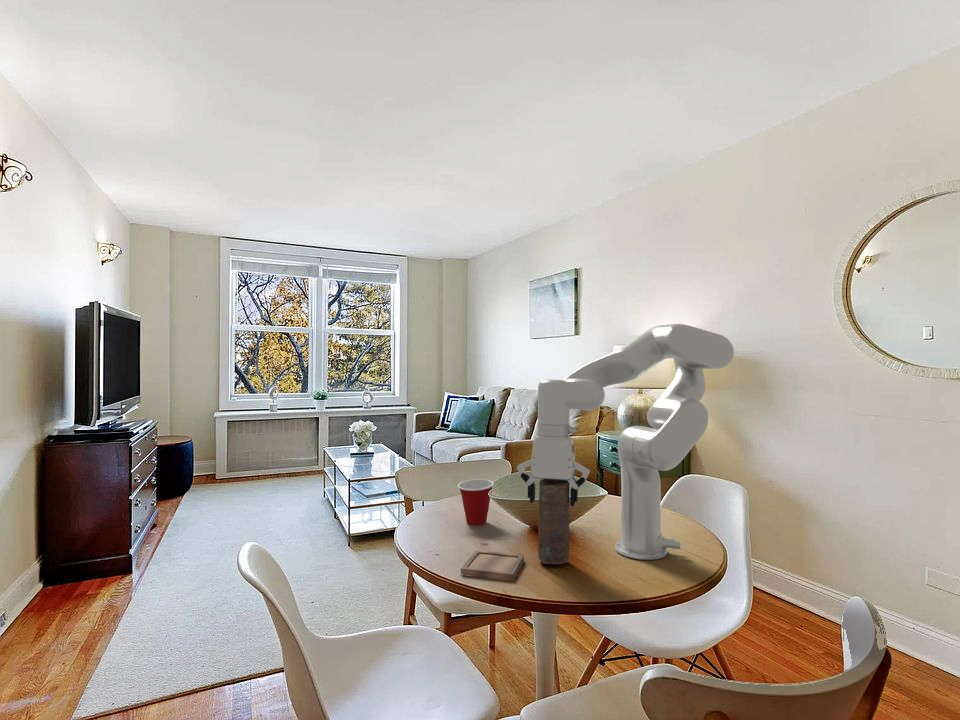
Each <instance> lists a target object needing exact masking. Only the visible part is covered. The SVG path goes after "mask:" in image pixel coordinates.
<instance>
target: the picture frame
mask: <svg viewBox="0 0 960 720" xmlns="http://www.w3.org/2000/svg"><path fill="white" fill-rule="evenodd" d="M524 562H525V555H524V554H514V553H508V552H507V553H504V552H495V551H485V550H477V549H476V550H475V551H474V552H473V553H472V554H471V556H470V557H469V558H468V559H467V561H466V562H465V563H464V564H463V565H462V566H461V568H460V575H461V574H463V575H462V576H464V575H470V576H469V577H473V576H477V577H476V578H481V577H484V578H483V579H490V578H491V579H493V580H499V581H509V582H513V581H514V580H515V578H516V577H517V575H518V572H520V570H519V569H521V567H523V564H524Z"/></svg>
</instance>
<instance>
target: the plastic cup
mask: <svg viewBox="0 0 960 720" xmlns="http://www.w3.org/2000/svg"><path fill="white" fill-rule="evenodd" d="M494 485H495V482H494V481H492V480H490V479H485V478H476V479H468V480H462V481H461V482H459V483H458V484H457V487H458V489H459V491H460V494H461V497H462V498H461V500H462V504H463V512H464V513H465V514H464V515H465V516H464V517H465V521H466V524H468V525H469V526H476V527H478V526H484V525H485V524H486V523H487V520H488V514H489V508H490V502H491V501H490V500H491V496H490V497H489V495H488V492H489V491H490V490H491V489H492V490H493V487H494ZM492 490H491V491H492Z"/></svg>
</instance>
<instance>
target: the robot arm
mask: <svg viewBox="0 0 960 720" xmlns="http://www.w3.org/2000/svg"><path fill="white" fill-rule="evenodd" d="M734 349H735V348H734V346H733V344H732V342H731V340H730V339H729V338H727V337H726V336H724V335H722V334H719V333H716V332H712V331H709V330H706V329H702V328H698V327H696V326H691V325H688V324H683V323H671V324H661V325H656V326H653V327H651V328H649V329H647V330H645V331H644V332H643V333H641V334H639V335H638V336H636V337H635V338H633V339H632V340H630V341H629V342H627V343H626V344H625V345H623V346H622V347H619V348H618V349H616V350H614V351H613V352H610V353H609V354H606V355H604V356H602V357H600V358H598V359H595V360H594V361H591V362H589V363H587V364H585V365H583V366H581V367H580V368H577V369H576V370H575V371H574V372H572V373H570V374H569V375H567V376H566V377H565V378H563V379H542V380H540V381H539V382H538V385H537V434H536V435H534V438H533V442H532V443H533V444H532V451H531V459H529V460H526V461H524V462H522V463H520V464H517V466H516V469H517V472H518V474H519V475H520V478H521V479H522V480H523V481H524V482H525V484H526V486H527V498H528V499H529V503H530V504H531V503H534V502H535V501H536V483H535V481H536V480H537V479H539V480H542V479H550V480H567V481H568V482H569V486H571V488H570V499H569V506H571V507H574V506H575V504H576V503H578V496H579V495H578V493H579V492H578V491H579V490H578V489H579V488H580V487H581V486H582V485H583V484H584V483H585V482H586V480H587V478H588V477H589V474H590V472H591V470H590V469H589V468H587V467H586V466H584V465H582V464H581V463H578V462H577V461H576V456H575V444H574V439H573V437H572V436H570V435H571V434H575V433H576V427H573V426H571V424H570V410H580V411H594V410H596V409H598V408H599V407H600V406H602V404H603V403H604V400H605V397H606V395H605V394H606V393H605V390H604V389H605V388H606V387H608V386H609V387H610V386H614V385H618V384H623V383H627V382H631V381H633V380H635V379H638V378H639V377H640V376H642V375H643V374H645V373H646V372H648V371H649V370H650V369H652V368H654V367H655V366H656V365H658V364H659V363H661V362H662V361H664V360H666V359H673V361H674V362H673V363H674V369H675V370H674V376H673V379H672V380H671V382H670V383H669V384H668V386H667V387H666V388H665V389H664V390H663V392H662V393H661V394H660V395H659V396H658V397H657V399H656V400H655V401H653V403H652V404H651V406H650V407H649V408H648V410H647V415H646V418H647V423H648V425H650V427H649V426H643V425H632V426H629V427H627V428H625V429H623V431H622V432H621V433H620V434H619V437H618V440H617V454H618V460H619V464H620V477H621V480H620V482H621V490H620V491H621V501H620V503H621V508H620V509H621V510H620V511H621V515H620V516H621V517H620V518H621V519H620V520H621V521H620V523H621V525H620V526H621V527H620V529H621V531H620V532H621V534H620V535H621V537H620V538H621V539H620V540H618V541H617V542H615V544H614V549H615V551H616V552H617V553H618V554H620V555H622V556H625V557H627V558H631V559H636V560H642V561H643V560H644V561H645V560H647V561H651V560H653V561H654V560H660V559H662V558H665V557H666V556H667V554H668V549H674V550H681V541H680V540H675V538H671V537H669V538H667V537H665V536H663V533H662V532H663V531H661V519H662V518H661V514H662V513H661V502H662V501H661V498H662V497H661V495H662V494H661V488H662V487H661V485H662V483H661V478H660V472H661V471H665V472H666V471H670V470H672V469H674V468H675V467H677V466H678V465H679V464H680V463H682V461H683V460H684V459H685V457H686V456H687V455H688V454H689V453H690V451H691V450H692V449H693V448H694V447H695V445H696V444H697V443H698V441H699V440H700V439H701V437H703V435H704V434H705V432H706V429H707V427H708V424H709V413H708V409H707V408H706V406H705V405H704V404H703V403H702V402H701V400H702V399H703V397H704V394H705V391H706V382H705V381H706V379H705V373H704V369H706V370H708V369H711V370H712V369H713V370H716V369H722V368H725V367H727V366H728V365H729V364H730V363H731V362H732V361H733V359H734V354H735V351H734ZM529 467H530V475H531V476H530V475H528V474H527V472H526V470H525V469H526V468H529ZM576 471H579V472H580V473H581V476H580V478H579V479H577V478H575V475H576ZM659 471H660V472H659ZM667 548H668V549H667Z"/></svg>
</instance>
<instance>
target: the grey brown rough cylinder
mask: <svg viewBox="0 0 960 720" xmlns="http://www.w3.org/2000/svg"><path fill="white" fill-rule="evenodd" d="M538 484H539V485H538V486H539V487H538V488H539V492H538V493H539V494H538V495H539V496H538V499H539V500H538V542H537V543H538V544H537V545H538V546H537V549H538V550H537V559H538V560H540V562H542V563H543V564H544V565H562V564H565V563H568V562H569V560H570V483H569V482H568V481H567V480H550V479H539V483H538Z"/></svg>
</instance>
